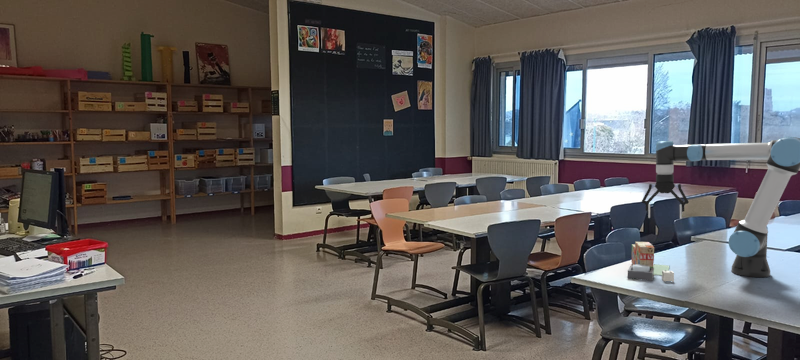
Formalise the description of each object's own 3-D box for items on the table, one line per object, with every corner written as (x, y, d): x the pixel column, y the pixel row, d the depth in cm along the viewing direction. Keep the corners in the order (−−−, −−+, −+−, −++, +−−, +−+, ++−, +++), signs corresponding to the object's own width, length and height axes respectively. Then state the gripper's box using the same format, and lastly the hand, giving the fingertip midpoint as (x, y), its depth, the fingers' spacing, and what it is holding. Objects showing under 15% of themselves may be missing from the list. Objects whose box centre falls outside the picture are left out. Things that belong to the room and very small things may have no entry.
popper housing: (653, 275, 255) (653, 268, 255) (652, 280, 246) (652, 272, 246) (629, 273, 260) (630, 265, 259) (627, 278, 251) (627, 270, 251)
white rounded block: (649, 274, 254) (650, 265, 254) (648, 278, 248) (649, 268, 248) (633, 272, 258) (633, 263, 257) (631, 276, 251) (631, 266, 251)
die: (671, 279, 248) (672, 270, 248) (673, 282, 245) (674, 272, 244) (661, 279, 249) (662, 269, 249) (663, 281, 246) (664, 272, 245)
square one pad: (669, 266, 274) (669, 265, 274) (667, 276, 254) (667, 275, 254) (653, 264, 277) (653, 264, 277) (650, 274, 258) (650, 273, 257)
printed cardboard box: (631, 262, 280) (631, 238, 279) (644, 263, 279) (645, 238, 278) (638, 272, 260) (639, 246, 259) (653, 273, 258) (654, 246, 257)
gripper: (694, 173, 266) (693, 217, 268) (636, 173, 277) (636, 216, 278) (694, 173, 260) (694, 219, 261) (635, 174, 270) (636, 218, 272)
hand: (664, 218), depth 270 cm, fingers open, 13 cm apart
